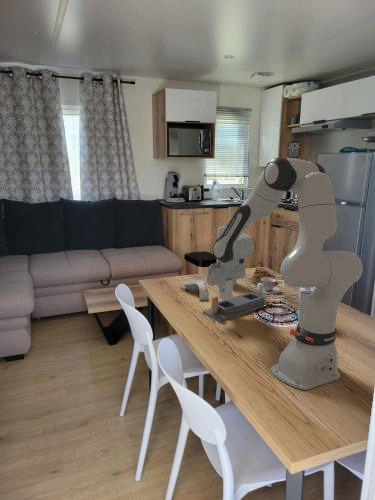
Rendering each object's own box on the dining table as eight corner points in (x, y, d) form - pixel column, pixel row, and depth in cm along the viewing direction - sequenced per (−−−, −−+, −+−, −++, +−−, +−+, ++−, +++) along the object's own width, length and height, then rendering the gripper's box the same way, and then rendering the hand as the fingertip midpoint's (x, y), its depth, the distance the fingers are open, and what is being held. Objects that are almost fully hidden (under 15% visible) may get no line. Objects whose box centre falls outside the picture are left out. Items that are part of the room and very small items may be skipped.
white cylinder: (225, 300, 161) (225, 279, 159) (219, 298, 164) (219, 276, 162) (232, 298, 163) (232, 277, 161) (226, 296, 166) (226, 275, 164)
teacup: (252, 288, 197) (253, 277, 196) (272, 285, 201) (272, 275, 200) (264, 295, 186) (265, 284, 185) (284, 292, 190) (285, 281, 189)
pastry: (259, 277, 217) (259, 264, 215) (280, 283, 206) (281, 269, 204) (244, 281, 209) (245, 268, 207) (266, 288, 198) (267, 274, 196)
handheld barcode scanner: (180, 287, 201) (180, 274, 199) (201, 285, 204) (201, 272, 202) (193, 302, 179) (193, 288, 177) (215, 299, 182) (216, 285, 180)
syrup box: (312, 324, 153) (315, 291, 149) (298, 323, 154) (300, 290, 151) (311, 318, 158) (313, 286, 155) (296, 317, 159) (299, 286, 156)
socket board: (220, 321, 156) (220, 301, 153) (202, 312, 165) (202, 294, 163) (272, 304, 175) (273, 286, 172) (253, 297, 184) (254, 280, 182)
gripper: (213, 266, 151) (212, 297, 154) (248, 258, 163) (247, 288, 166) (203, 263, 156) (203, 293, 159) (238, 256, 168) (237, 284, 171)
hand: (226, 290), depth 163 cm, fingers closed on white cylinder, 4 cm apart
